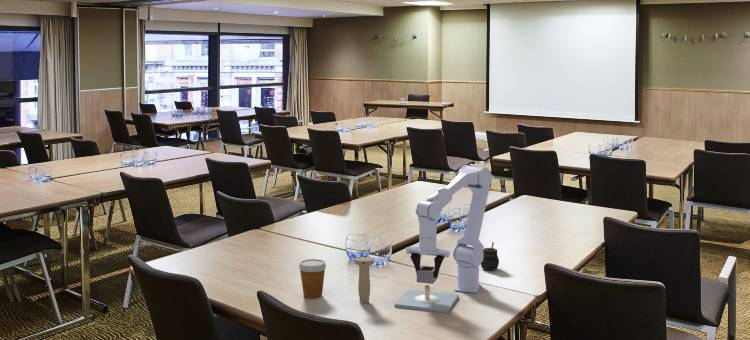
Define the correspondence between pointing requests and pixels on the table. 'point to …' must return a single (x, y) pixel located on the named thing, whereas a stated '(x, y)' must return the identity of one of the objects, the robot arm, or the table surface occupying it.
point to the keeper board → (427, 300)
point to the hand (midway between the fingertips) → (427, 276)
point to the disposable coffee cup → (312, 277)
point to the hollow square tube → (426, 274)
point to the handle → (364, 277)
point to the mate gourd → (490, 259)
